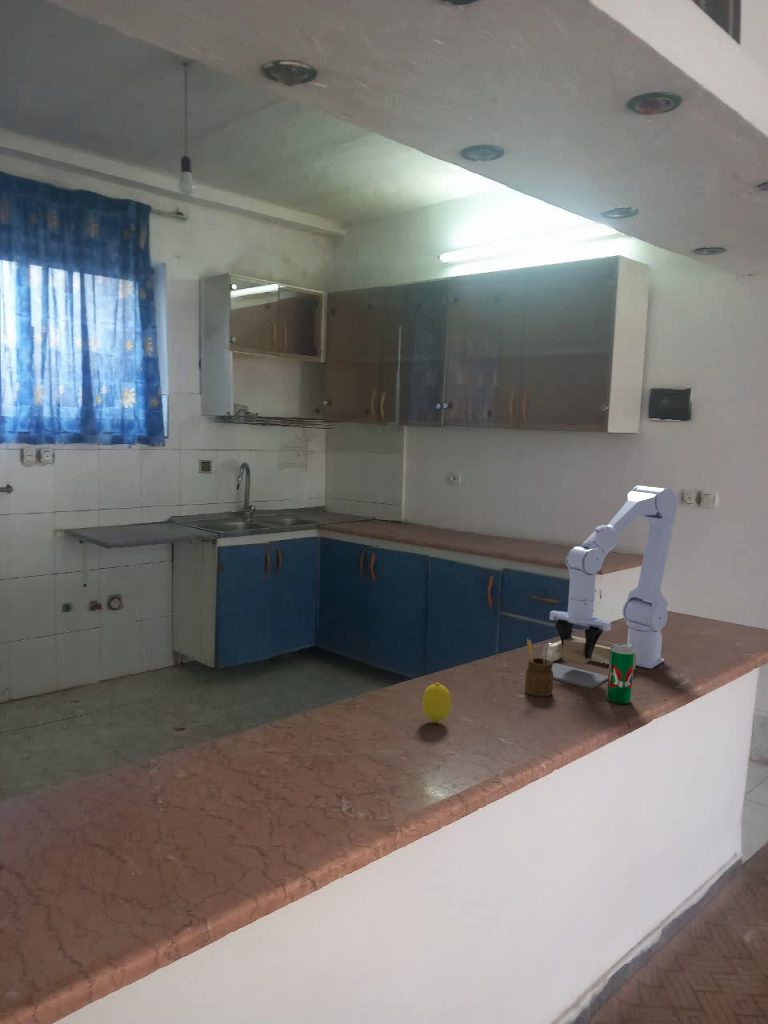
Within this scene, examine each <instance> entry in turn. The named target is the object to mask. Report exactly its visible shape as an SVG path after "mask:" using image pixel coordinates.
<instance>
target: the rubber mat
mask: <svg viewBox="0 0 768 1024" xmlns="http://www.w3.org/2000/svg"><path fill="white" fill-rule="evenodd" d="M552 671H553V680H557V681H560V682H565V683H567V684H572V685H576V686H578V687H579V686H580V687H582V688H587V689H590V690H591V689H594V688H596V687H597V686H599V685H601V684H603V683H604V682H607V681H608V675H605V674H603V673H597V672H594V671H590V670H585V669H582V668H577V667H573V666H571V665H570V666H568V665H565V664H560V663H557V662H552Z"/></svg>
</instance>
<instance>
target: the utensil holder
mask: <svg viewBox="0 0 768 1024" xmlns="http://www.w3.org/2000/svg"><path fill="white" fill-rule="evenodd" d="M526 643H527V650H528V653H529V655H530V658H529V660H528V661H527V666H528V667H527V668H526V670H525V678H524V679H525V683H524V691H525V692H526V694H528V695H530V696H534V697H539V698H540V697H542V698H543V697H544V698H545V697H549V696H551V695H552V694H553V685H554V679H553V671H552V662H551V661H550V660H547V659H548V658H547V654H546V655H544V654H545V652H546V651H547V652H548V650H546V648H547V649H548V648H549V647H548V646H549V645H553V643H551V642H550V643H546V644H545V645H544V646H545V647H543V650H544V651H542V657H540V658H539V657H534V656H533V655H534V650H533V646H532V645H533V644H532V640H530V639H528V638H527V639H526ZM550 647H551V646H550ZM553 649H554V645H553ZM549 651H550V650H549ZM547 652H546V653H547ZM551 653H552V651H551ZM552 654H554V653H552ZM545 656H546V657H545ZM551 657H553V656H551ZM549 659H552V658H549Z"/></svg>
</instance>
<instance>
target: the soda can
mask: <svg viewBox="0 0 768 1024" xmlns="http://www.w3.org/2000/svg"><path fill="white" fill-rule="evenodd" d="M611 646H612V647H610V648H611V649H610V660H609V665H608V674H607V676H608V680H607V685H606V686H607V687H606V688H607V689H606V698H607V700H608V701H609V702H610V703H612V704H617V705H627V704H629V703H630V702H631V701H632V694H633V684H634V672H635V670H634V661H635V652H634V650H633V649H634V647H633V646H630V645H627V643H613V644H612V645H611Z"/></svg>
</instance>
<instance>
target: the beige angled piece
mask: <svg viewBox="0 0 768 1024" xmlns="http://www.w3.org/2000/svg"><path fill="white" fill-rule="evenodd" d="M552 644H553V645H554V649H553V645H551V644H550V645H549V644H548V645H547V651H548V652H546V655H547V656H546V659H547V658H548V659H547V660H550V661H551V662H553V661H554V662H555V660H556V661H557V660H560V659H562V658H563V648H562V643H561V639H560V640H558V641H556V642H553V643H552ZM550 646H551V647H550ZM548 647H549V648H548ZM611 648H612V647H608V646H604V645H601V644H596V645H595V647H594V650H593V653H592V658H591V661H590V662H595V663H599V662H600V663H599V664H603V663H605V664H604V665H607V664H609V660H610V649H611ZM549 650H550V651H549ZM551 651H552V653H554V654H552V653H551ZM551 656H553V657H551ZM549 658H552V659H549ZM554 662H553V663H554ZM636 666H637V665H636V653H635V661H634V671H635V670H636V668H637V667H636Z"/></svg>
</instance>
